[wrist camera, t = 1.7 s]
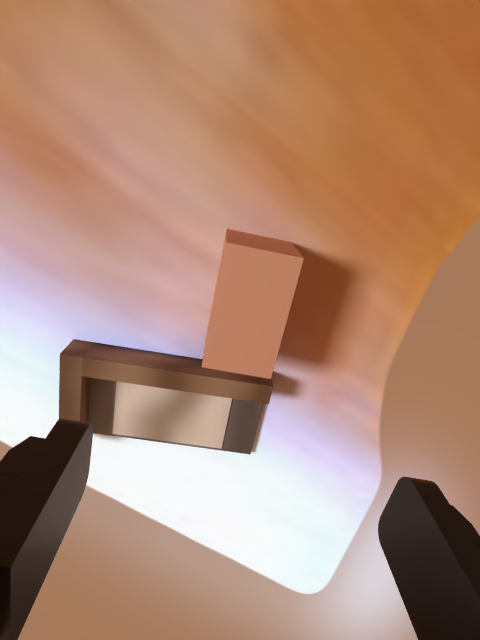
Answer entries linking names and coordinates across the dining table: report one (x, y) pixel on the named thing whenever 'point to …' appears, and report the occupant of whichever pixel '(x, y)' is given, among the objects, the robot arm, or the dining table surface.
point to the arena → (160, 397)
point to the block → (251, 303)
